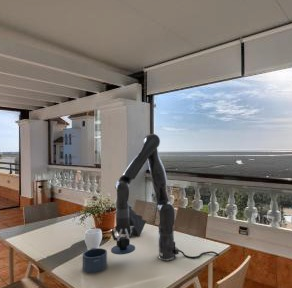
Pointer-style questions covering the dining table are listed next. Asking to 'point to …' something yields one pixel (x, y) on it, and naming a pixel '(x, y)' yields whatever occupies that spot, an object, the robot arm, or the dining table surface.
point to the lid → (123, 247)
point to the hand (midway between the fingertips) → (123, 246)
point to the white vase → (93, 238)
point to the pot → (94, 260)
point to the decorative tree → (135, 222)
